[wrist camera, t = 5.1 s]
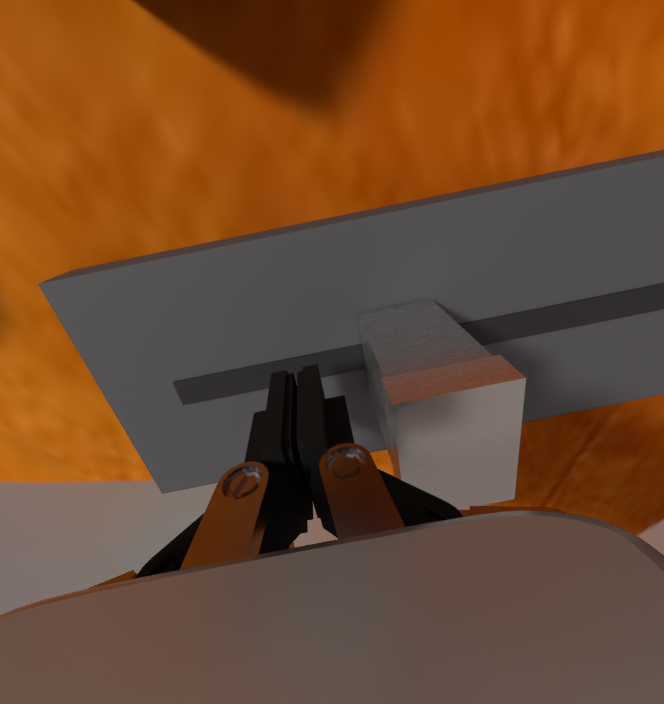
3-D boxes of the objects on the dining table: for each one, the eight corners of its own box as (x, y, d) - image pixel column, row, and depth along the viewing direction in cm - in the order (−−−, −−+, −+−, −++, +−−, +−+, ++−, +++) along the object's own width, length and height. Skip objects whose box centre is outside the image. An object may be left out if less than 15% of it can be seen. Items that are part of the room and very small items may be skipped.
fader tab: (354, 312, 14) (392, 404, 8) (434, 296, 14) (526, 378, 8) (368, 398, 15) (406, 520, 10) (437, 384, 15) (514, 499, 10)
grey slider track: (71, 270, 14) (-7, 301, 10) (943, 92, 14) (1168, 63, 10) (175, 464, 19) (146, 529, 16) (816, 336, 19) (936, 373, 15)
